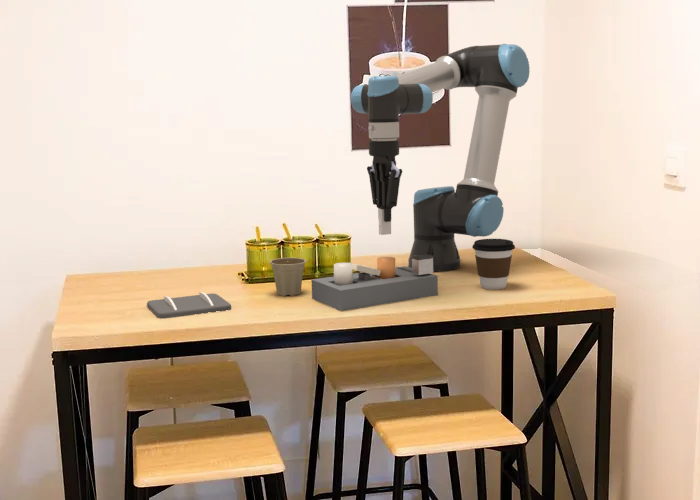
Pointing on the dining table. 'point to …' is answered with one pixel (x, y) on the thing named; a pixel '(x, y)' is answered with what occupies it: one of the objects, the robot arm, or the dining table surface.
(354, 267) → the rocker
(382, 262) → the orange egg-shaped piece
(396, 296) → the console
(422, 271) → the fader
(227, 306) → the grey flat slab
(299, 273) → the flower pot
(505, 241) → the coffee cup
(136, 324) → the dining table surface
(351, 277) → the button white
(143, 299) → the dining table surface
